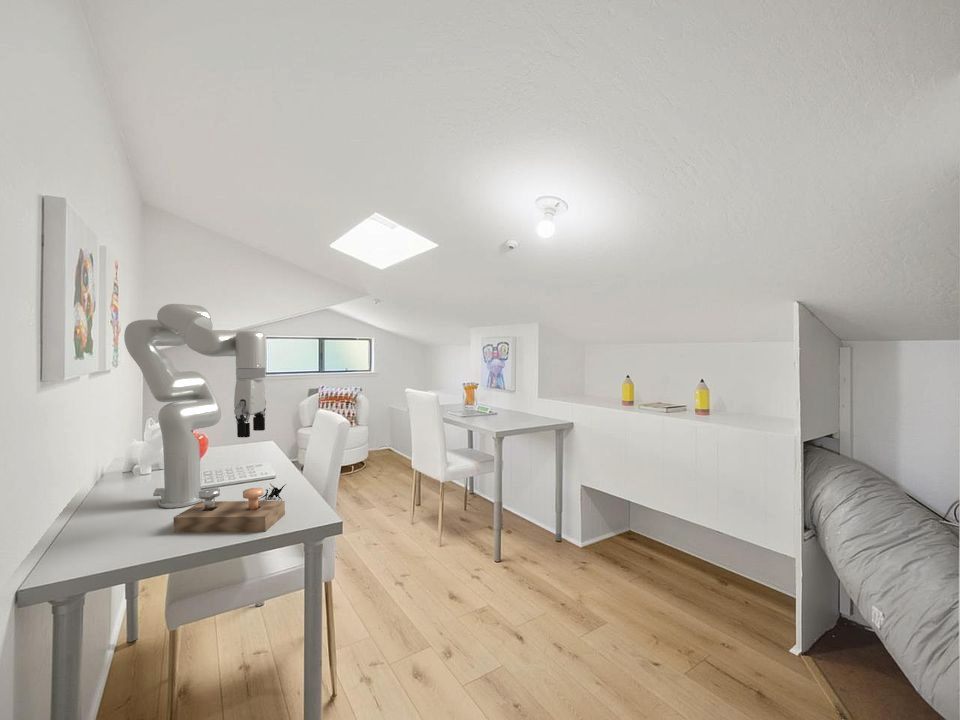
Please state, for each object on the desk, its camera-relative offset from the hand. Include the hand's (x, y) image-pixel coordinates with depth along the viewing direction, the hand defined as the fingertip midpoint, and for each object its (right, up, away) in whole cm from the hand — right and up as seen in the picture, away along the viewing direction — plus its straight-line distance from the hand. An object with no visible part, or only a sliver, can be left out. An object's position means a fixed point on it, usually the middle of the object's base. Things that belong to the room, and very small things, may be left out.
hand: (251, 433), depth 131 cm
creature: (0, -24, +12) cm, 27 cm away
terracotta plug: (+3, -20, -6) cm, 21 cm away
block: (-3, -24, -5) cm, 25 cm away
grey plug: (-9, -20, -6) cm, 23 cm away
